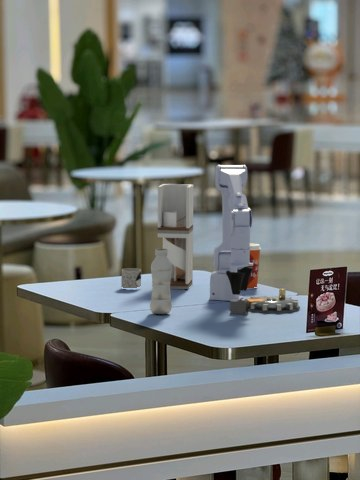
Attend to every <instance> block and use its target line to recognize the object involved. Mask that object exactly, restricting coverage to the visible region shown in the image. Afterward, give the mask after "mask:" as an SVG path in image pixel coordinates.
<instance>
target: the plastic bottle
mask: <svg viewBox="0 0 360 480" xmlns="http://www.w3.org/2000/svg"><path fill="white" fill-rule="evenodd" d="M154 250H155V251H154V255H155V258H154V259H153V260H152V262H151V265H150V272H151V273H150V274H151V282H152V283H151V284H152V285H151V287H152V289H151V296H150V297H151V298H150V302H149V308H150V309H149V310H150V311H151V313H152V314H156V315H160V314H161V315H166V314H170V312H171V311H172V306H173V304H172V303H173V302H172V299H171V289H170V280H171V273H172V263H171V262H170V260H169V259H168V258H167V255H168V250H167V249H164V248H163V247H162V248H161V247H160V248H155V249H154Z"/></svg>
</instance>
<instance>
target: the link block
mask: <svg viewBox="0 0 360 480" xmlns="http://www.w3.org/2000/svg"><path fill="white" fill-rule="evenodd" d="M229 305H230V306H229V314H230V315H241V316H246V315H248V314H249V311H248V310H249V301H247V300H245V299H244V300H242V299H240V300H231V301H229Z"/></svg>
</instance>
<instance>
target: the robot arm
mask: <svg viewBox="0 0 360 480" xmlns="http://www.w3.org/2000/svg"><path fill="white" fill-rule="evenodd" d="M214 177H215V178H214V179H215V180H214V181H215V183H214V185H215V190H217V191H219V192H220V194H221V198H222V201H221V205H222V211H221V212H222V213H221V214H222V217H221V218H222V235H221V236H222V239H221V240H222V241H221V242H220V243H219V244H217V245H216V246H215V247H214V249H213V259H212V260H213V261H212V262H213V265H212V266H213V270H214V271H212V272H211V274H210V277H209V278H210V280H209V298H208V299H209V300H212V301H226V302H227V301H228V302H230V301H231V300H242V299H243V298H244V295H240V294H241V291H243V292H247V290H248V289H247V287H248V282H249V278H250V275H251V273H252V271H253V267H248V266H253V263H250V260H249V259H250V243H251V242H250V241H251V228H252V226H253V213H252V209H251V208H250V207H249V205H248V200H247V196H246V194H244V193H243V190H244V188H245V186H246V185H247V182H248V167H247V166H246V164H217V165H216V166H215V172H214ZM227 251H228V252H227Z"/></svg>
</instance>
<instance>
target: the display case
mask: <svg viewBox="0 0 360 480" xmlns="http://www.w3.org/2000/svg"><path fill="white" fill-rule="evenodd" d="M194 187H195V186H194V184H191V183H189V184H188V183H187V184H181V183H162V184H160V185H158V186H157V238H162V248H164V249H167V250H168V255H167V258H168V259H169V260H170V262H171V263H172V273H171V280H170V290H172V289H189V290H190V288H191V287H192V286H193V278H194V277H193V274H194V272H193V269H194V268H193V267H194V265H193V264H194V263H193V262H194V260H193V259H194V257H193V256H194V252H193V251H194ZM191 285H192V286H191ZM190 286H191V287H190ZM189 287H190V288H189Z"/></svg>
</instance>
